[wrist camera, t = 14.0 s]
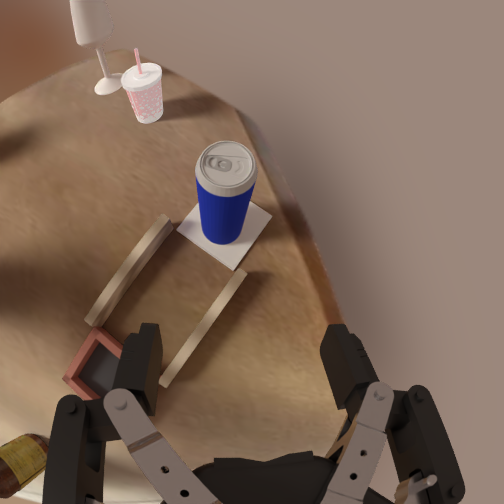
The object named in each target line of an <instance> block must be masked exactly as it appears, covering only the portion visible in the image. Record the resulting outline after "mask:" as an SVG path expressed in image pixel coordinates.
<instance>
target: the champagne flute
mask: <svg viewBox="0 0 504 504" xmlns="http://www.w3.org/2000/svg"><path fill="white" fill-rule="evenodd" d="M70 7H71V13H72V19H73V25H74V30H75V36H76V41H77V43H78V44H79V45H80V46H82V47H85V48H90V49H96V50H97V54H98V57H99V60H100V63H101V66H102V69H103V73H104V76H105V77H104V78H103V79H101V80H100V81H99V82H98V83H97V85H96V86H95V92H96V93H97V94H99V95H106V94H110V93H113V92H115V91H117V90H118V89H120V88H121V87H122V86H123V85H122V83H121V78H122V75H123V74H121V73H115V74H110V71H109V68H108V64H107V61H106V58H105V54H104V51H103V47H102V46H103V45H104V44H105V43H106V42H107V40H108V39H109V38H110V36H111V34H112V32H113V30H114V25H113V22H112V19H111V16H110V13H109V10H108V7H107V4H106V1H105V0H70Z"/></svg>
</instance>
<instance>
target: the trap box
mask: <svg viewBox="0 0 504 504" xmlns="http://www.w3.org/2000/svg"><path fill="white" fill-rule="evenodd" d="M122 348H123V345H122V344H121V343H120V342H119V341H117V340H116V339H115V338H114V337H113V336H112V335H111V334H109V333H108V332H107V331H106V330H105V329H104V328H103V327H96V326H94V327H93V329H92V330H91V332H90V334H89V335H88V337H87V338H86V340H85V341H84V343H83V345H82V346H81V348H80V350H79V351H78V353H77V354H76V356H75V358H74V359H73V361H72V363H71V364H70V366H69V368H68V370H67V371H66V373H65V375H64V376H63V378H62V379H63V380H64V381H65V382H66V383H67V384H68V385H69V386H70V387H71V388H72V389H73V390H74V391H75V392H76V393H77V394H78V395H79V396H80V397H81V398H83V399H84V400H92V399H99V398H102V397H104V396H106V395H107V393H109V392H110V390H111V389H112V386H113V383H114V379H115V375H116V371H117V367H118V363H119V360H120V356H121V352H122ZM161 376H162V375H160V377H161ZM160 377H159V379H160Z"/></svg>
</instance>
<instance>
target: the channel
mask: <svg viewBox="0 0 504 504" xmlns="http://www.w3.org/2000/svg"><path fill="white" fill-rule="evenodd" d="M173 229H174V228H173V226H172V223H171V221H170V219H169V218H168V217H167V216H165V215H164V214H163V213H162V214H161V215H160V217H159V218H158V219H157V220H156V221H155V223H154V224H153V225H152V226H151V228H150V229H149V230H148V231H147V233H146V234H145V235H144V236H143V238H142V239H141V240H140V242H139V243H138V244H137V245H136V247H135V248H134V249H133V251H132V252H131V253H130V255H129V256H128V257H127V259H126V260H125V261H124V263H123V264H122V265H121V267H120V268H119V269H118V271H117V272H116V273H115V275H114V276H113V278H112V279H111V280H110V282H109V283H108V285H107V286H106V288H105V289H104V290H103V292H102V293H101V295H100V296H99V298H98V299H97V301H96V302H95V304H94V305H93V307H92V308H91V310H90V311H89V313H88V314H87V316H86V317H85V319H84V320H85V321H86V322H87V323H88V324H89V325H90V326H96V327H102V326H103V324H104V323H105V321H106V320H107V318H108V317H109V315H110V314H111V312H112V311H113V309H114V308H115V306H116V305H117V304H118V302H119V301H120V299H121V298H122V296H123V295H124V294H125V292H126V291H127V289H128V288H129V287H130V285H131V284H132V282H133V281H134V280H135V278H136V277H137V276H138V274H139V273H140V272H141V270H142V269H143V268H144V266H145V265H146V264H147V262H148V261H149V260H150V258H151V257H152V256H153V254H154V253H155V252H156V250H157V249H158V248H159V247H160V245H161V244H162V243H163V241H164V240H165V239H166V238H167V236H168V235H169V234H170V233H171V231H172V230H173ZM246 275H247V273H246V272H244V271H243V270H241V269H240V268H238V269H237V271H236V272H235V274H234V275H233V276H232V278H231V279H230V281H229V282H228V283H227V285H226V286H225V288H224V289H223V290H222V292H221V293H220V295H219V296H218V297H217V299H216V300H215V302H214V303H213V304H212V306H211V307H210V309H209V310H208V311H207V313H206V314H205V316H204V317H203V318H202V320H201V321H200V323H199V324H198V326H197V327H196V328H195V330H194V331H193V333H192V334H191V335H190V337H189V338H188V340H187V341H186V342H185V344H184V345H183V347H182V348H181V349H180V351H179V352H178V354H177V355H176V356H175V358H174V359H173V361H172V362H171V363H170V365H169V366H168V368H167V369H166V370H165V372H164V373H163V375H162V376H161V377H160V379H159V384H161V385H162V386H164V387H165V388H167V387H168V385H169V384H170V383H171V382H172V380H173V379H174V377H175V376H176V375H177V373H178V372H179V370H180V369H181V368H182V366H183V365H184V363H185V362H186V361H187V359H188V358H189V357H190V355H191V354H192V352H193V351H194V349H195V348H196V347H197V345H198V344H199V342H200V341H201V340H202V338H203V337H204V335H205V334H206V333H207V331H208V330H209V328H210V327H211V326H212V324H213V323H214V321H215V320H216V319H217V317H218V316H219V314H220V313H221V311H222V310H223V309H224V307H225V306H226V304H227V303H228V302H229V300H230V299H231V297H232V296H233V294H234V293H235V292H236V290H237V289H238V287H239V286H240V284H241V283H242V282H243V280H244V279H245V277H246Z"/></svg>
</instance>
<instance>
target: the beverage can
mask: <svg viewBox="0 0 504 504" xmlns="http://www.w3.org/2000/svg"><path fill="white" fill-rule="evenodd" d="M195 173H196V183H197V192H198V201H199V210H200V219H201V227H202V231H203V234H204V236H205V237H206V238H207V239H208V240H209V241H211V242H212V243H214V244H218V245H226V244H229V243H232V242H233V241H235V240H236V239H237V238H238V237H239V235H240V234H241V231H242V227H243V224H244V220H245V217H246V213H247V210H248V206H249V203H250V199H251V196H252V192H253V189H254V185H255V182H256V178H257V173H258V170H257V165H256V161H255V158H254V156H253V154H252V153H251V151H250V150H249V149H248V148H247V147H245V146H244V145H242V144H240V143H238V142H234V141H220V142H216V143H214V144H212V145H210V146H208V147H207V148H206V149H205V150H204V151H203V152H202V154H201V156H200V157H199V159H198V161H197V164H196V168H195Z"/></svg>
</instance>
